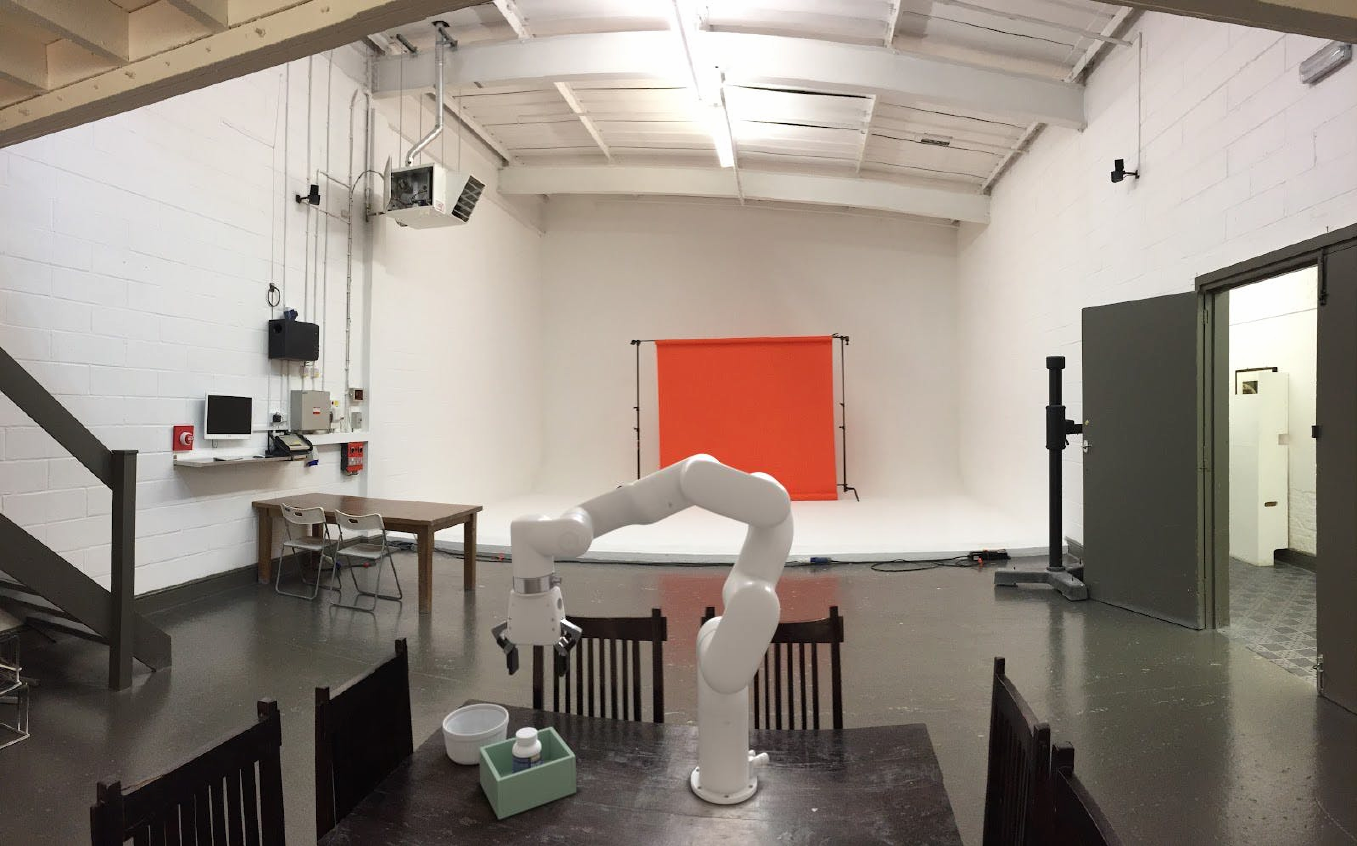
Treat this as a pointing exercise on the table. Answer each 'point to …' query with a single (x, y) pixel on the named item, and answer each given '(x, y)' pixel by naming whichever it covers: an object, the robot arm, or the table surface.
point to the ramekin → (473, 731)
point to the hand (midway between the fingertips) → (538, 672)
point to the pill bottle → (526, 750)
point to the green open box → (527, 775)
